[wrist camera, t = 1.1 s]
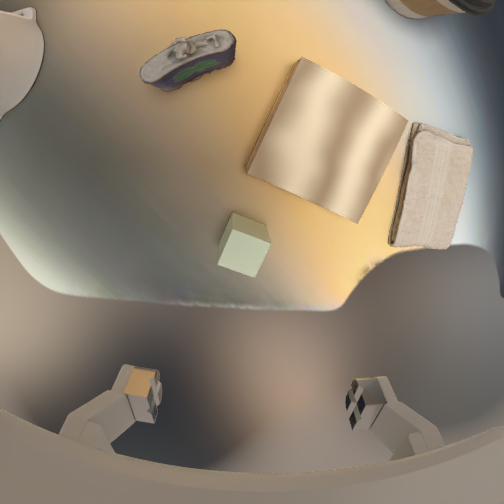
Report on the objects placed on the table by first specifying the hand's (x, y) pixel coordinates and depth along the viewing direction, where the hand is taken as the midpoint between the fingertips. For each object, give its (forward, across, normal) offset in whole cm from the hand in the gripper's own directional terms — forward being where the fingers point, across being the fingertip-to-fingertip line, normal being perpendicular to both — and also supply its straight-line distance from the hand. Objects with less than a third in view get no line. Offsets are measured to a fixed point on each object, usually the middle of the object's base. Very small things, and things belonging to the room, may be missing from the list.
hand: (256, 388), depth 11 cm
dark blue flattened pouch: (+27, +8, -17) cm, 33 cm away
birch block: (+28, -8, -10) cm, 31 cm away
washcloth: (+30, -25, -5) cm, 40 cm away
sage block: (+28, +1, +3) cm, 28 cm away
